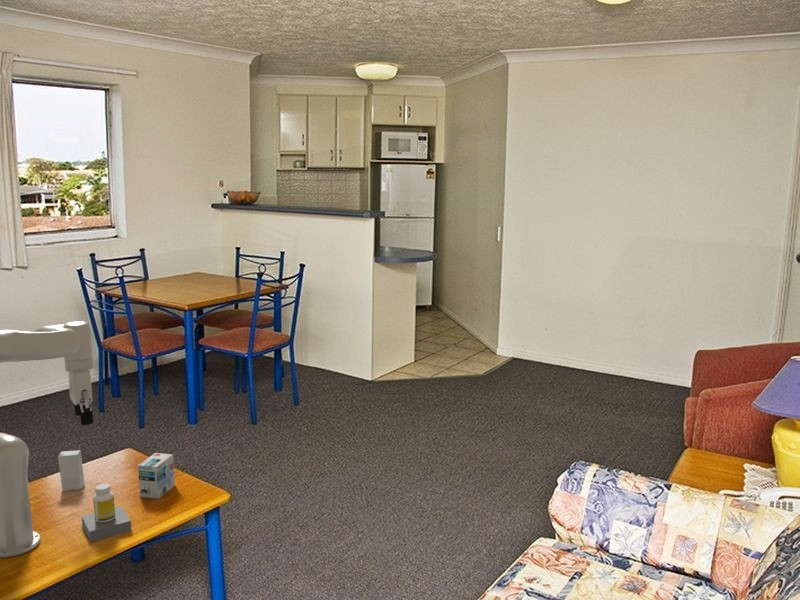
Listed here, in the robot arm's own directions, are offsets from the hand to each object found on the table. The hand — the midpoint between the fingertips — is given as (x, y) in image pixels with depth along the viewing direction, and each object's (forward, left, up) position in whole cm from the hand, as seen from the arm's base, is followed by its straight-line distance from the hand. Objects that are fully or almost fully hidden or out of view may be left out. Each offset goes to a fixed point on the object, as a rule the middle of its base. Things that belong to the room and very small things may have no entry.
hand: (84, 419), depth 211 cm
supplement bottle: (+1, -16, -26) cm, 30 cm away
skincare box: (-2, +18, -29) cm, 34 cm away
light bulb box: (+20, 0, -29) cm, 35 cm away
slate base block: (+1, -16, -28) cm, 32 cm away
